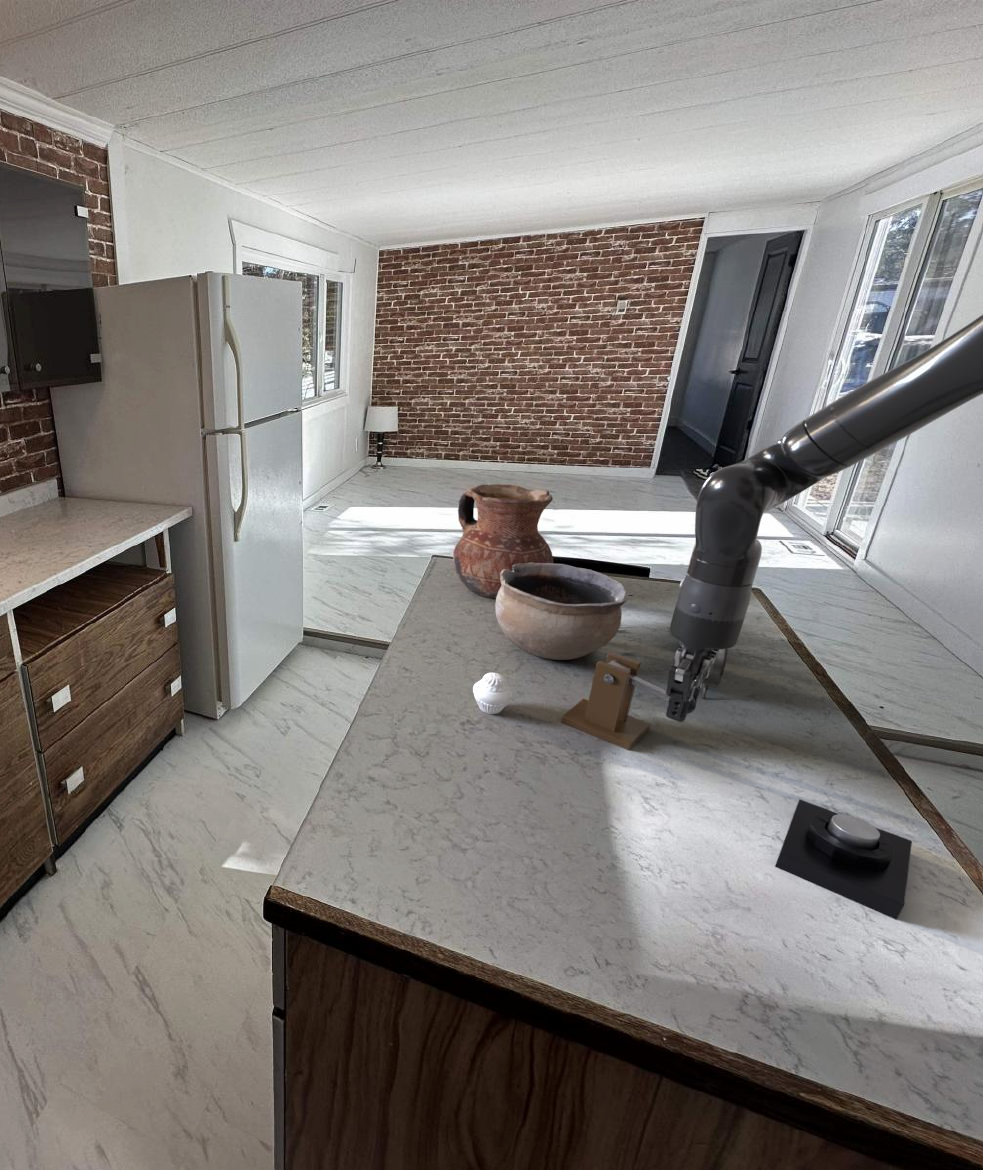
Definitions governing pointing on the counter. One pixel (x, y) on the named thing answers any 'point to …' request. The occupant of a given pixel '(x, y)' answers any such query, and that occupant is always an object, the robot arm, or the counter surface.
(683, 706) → the robot arm
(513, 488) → the jug
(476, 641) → the counter surface
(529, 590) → the ceramic bowl
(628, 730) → the lever bracket
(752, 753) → the counter surface
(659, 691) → the ball knob lever
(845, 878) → the button base
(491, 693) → the muffin
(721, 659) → the alarm clock
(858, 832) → the grey push button
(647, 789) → the counter surface
